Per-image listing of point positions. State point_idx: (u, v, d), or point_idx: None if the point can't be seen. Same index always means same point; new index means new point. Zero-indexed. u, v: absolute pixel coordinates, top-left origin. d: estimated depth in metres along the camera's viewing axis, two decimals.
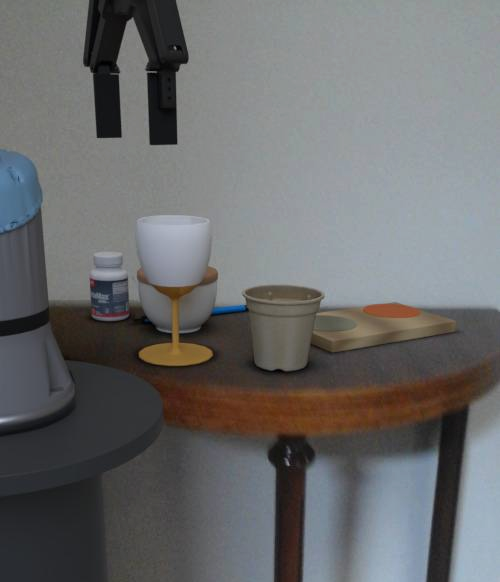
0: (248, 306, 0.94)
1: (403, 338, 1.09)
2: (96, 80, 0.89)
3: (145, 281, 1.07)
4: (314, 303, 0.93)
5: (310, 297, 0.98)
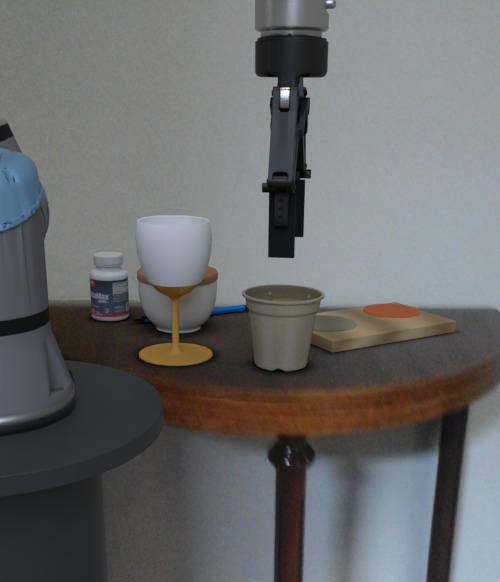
0: (248, 306, 0.94)
1: (403, 338, 1.09)
2: None
3: (145, 281, 1.07)
4: (314, 303, 0.93)
5: (310, 297, 0.98)
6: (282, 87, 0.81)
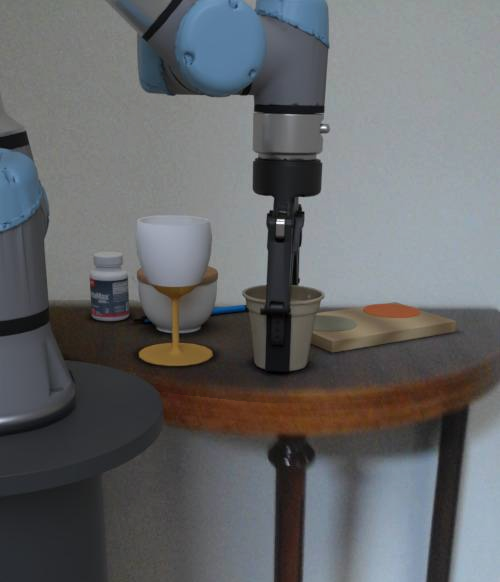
0: (248, 306, 0.94)
1: (403, 338, 1.09)
2: None
3: (145, 281, 1.07)
4: (314, 303, 0.93)
5: (310, 297, 0.98)
6: (277, 220, 0.86)
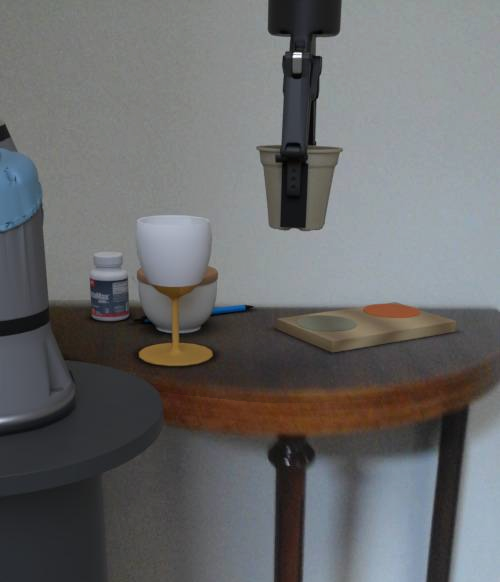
0: (262, 160, 0.89)
1: (403, 338, 1.09)
2: None
3: (145, 281, 1.07)
4: (332, 155, 0.88)
5: None
6: (294, 53, 0.81)
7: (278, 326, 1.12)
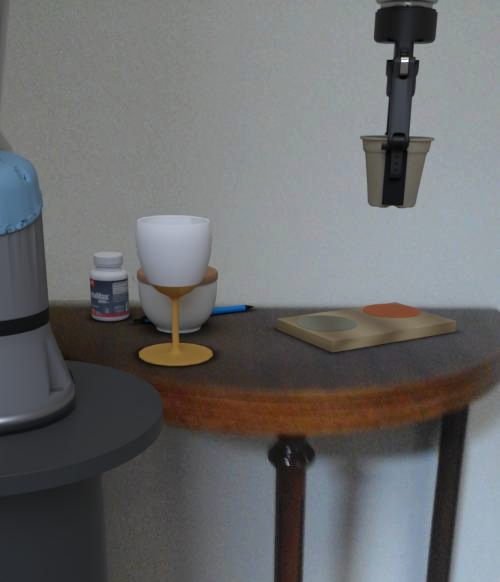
0: (366, 147, 1.06)
1: (403, 338, 1.09)
2: None
3: (145, 281, 1.07)
4: (427, 143, 1.04)
5: None
6: (402, 58, 0.97)
7: (278, 326, 1.12)
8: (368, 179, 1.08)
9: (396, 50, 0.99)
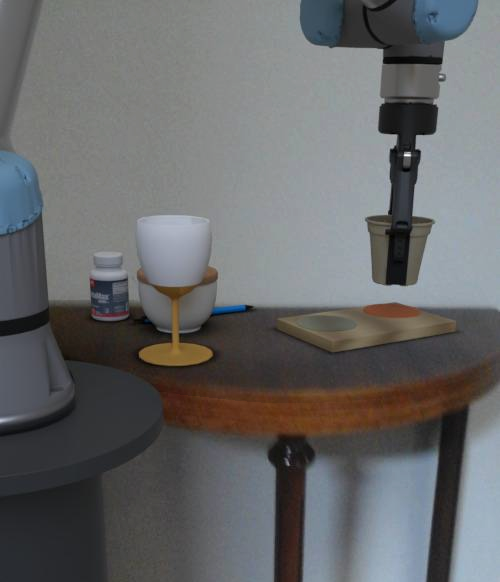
0: (371, 230, 1.12)
1: (403, 338, 1.09)
2: None
3: (145, 281, 1.07)
4: (428, 227, 1.10)
5: None
6: (405, 152, 1.03)
7: (278, 326, 1.12)
8: (372, 258, 1.14)
9: (399, 143, 1.05)
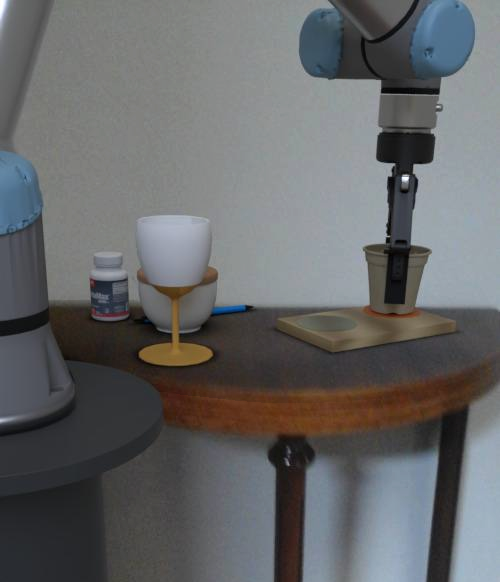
0: (369, 259, 1.13)
1: (403, 338, 1.09)
2: (386, 242, 1.20)
3: (145, 281, 1.07)
4: (425, 257, 1.12)
5: (416, 254, 1.17)
6: (403, 174, 1.04)
7: (278, 326, 1.12)
8: (370, 287, 1.15)
9: (397, 172, 1.07)
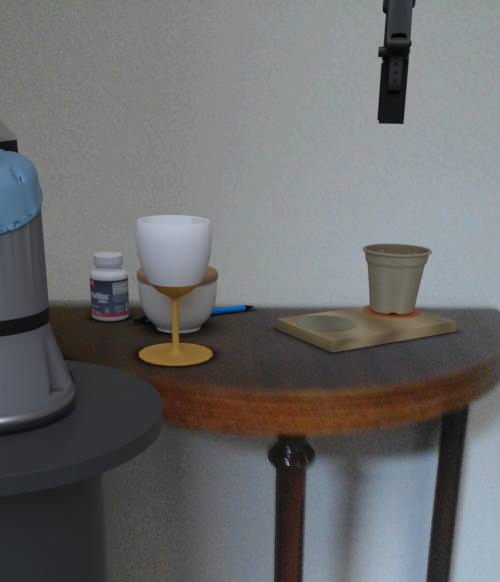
0: (369, 259, 1.13)
1: (403, 338, 1.09)
2: (381, 68, 1.01)
3: (145, 281, 1.07)
4: (425, 257, 1.12)
5: (416, 254, 1.17)
6: None
7: (278, 326, 1.12)
8: (370, 287, 1.15)
9: None
